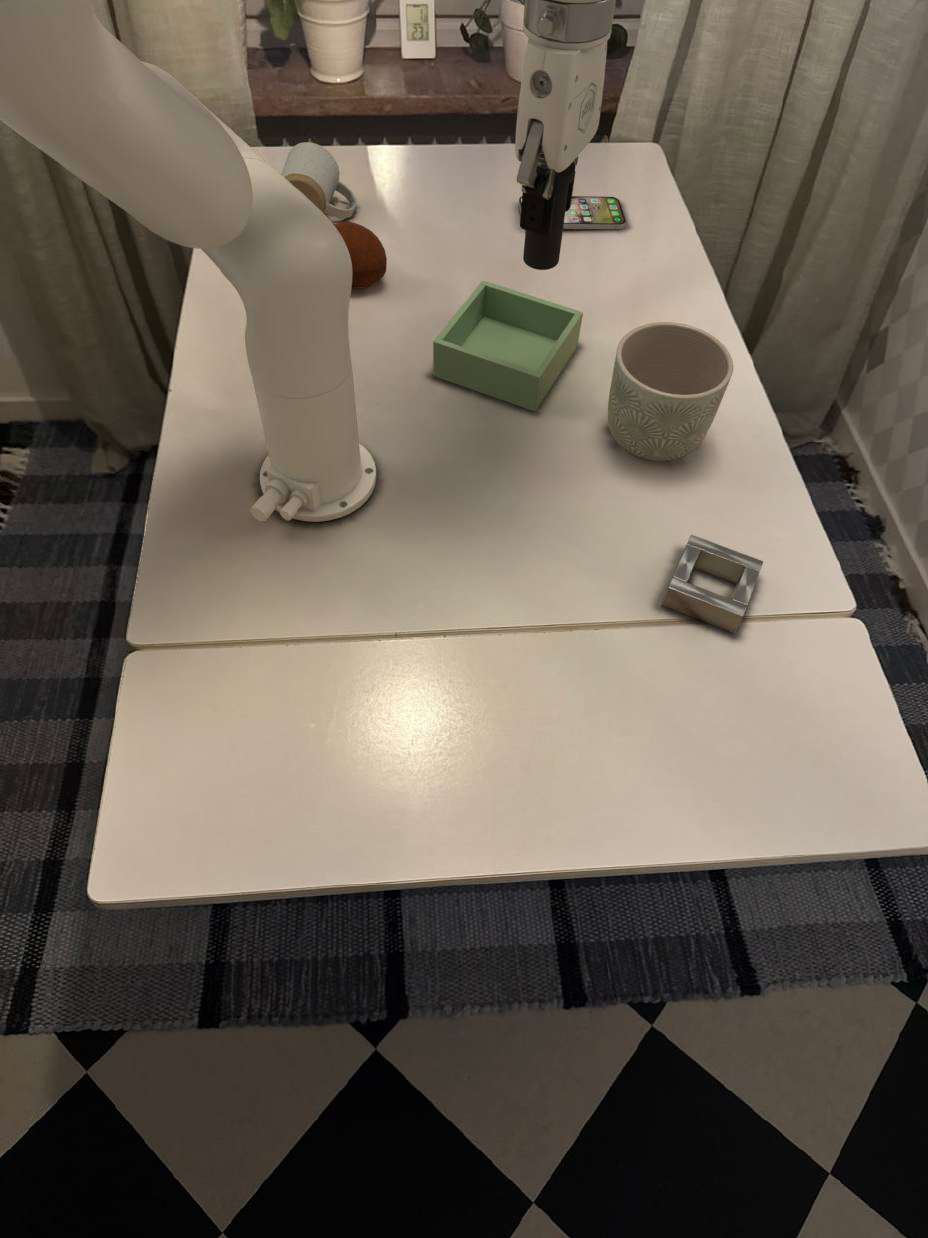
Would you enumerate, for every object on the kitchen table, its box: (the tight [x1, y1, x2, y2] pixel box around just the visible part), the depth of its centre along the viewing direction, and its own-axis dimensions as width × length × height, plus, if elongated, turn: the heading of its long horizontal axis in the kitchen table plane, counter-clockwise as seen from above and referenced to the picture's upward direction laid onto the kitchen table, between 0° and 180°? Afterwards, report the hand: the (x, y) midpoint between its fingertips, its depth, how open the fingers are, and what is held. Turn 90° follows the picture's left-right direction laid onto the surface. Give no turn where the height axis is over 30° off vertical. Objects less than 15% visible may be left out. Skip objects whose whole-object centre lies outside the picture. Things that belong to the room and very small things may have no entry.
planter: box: [607, 321, 734, 462], centre depth 95 cm, size 12×12×11 cm
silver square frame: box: [661, 534, 764, 634], centre depth 86 cm, size 8×8×3 cm
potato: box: [332, 220, 388, 289], centre depth 111 cm, size 8×12×8 cm, turn 88°
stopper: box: [522, 153, 576, 271], centre depth 86 cm, size 5×5×10 cm
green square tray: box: [432, 280, 584, 413], centre depth 104 cm, size 14×14×5 cm
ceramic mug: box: [280, 141, 358, 219], centre depth 121 cm, size 11×8×8 cm
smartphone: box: [518, 195, 627, 230], centre depth 125 cm, size 7×1×15 cm
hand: (545, 216), depth 86 cm, fingers closed on stopper, 4 cm apart
